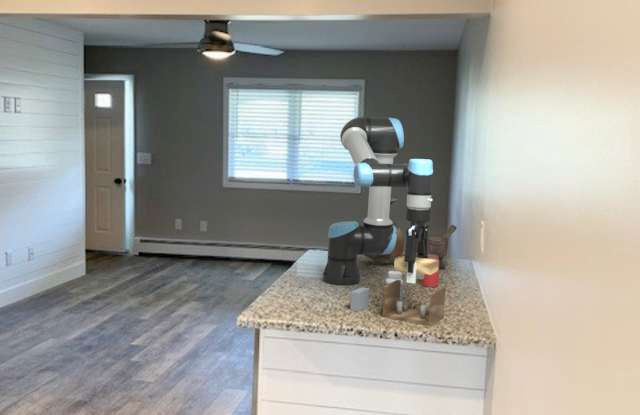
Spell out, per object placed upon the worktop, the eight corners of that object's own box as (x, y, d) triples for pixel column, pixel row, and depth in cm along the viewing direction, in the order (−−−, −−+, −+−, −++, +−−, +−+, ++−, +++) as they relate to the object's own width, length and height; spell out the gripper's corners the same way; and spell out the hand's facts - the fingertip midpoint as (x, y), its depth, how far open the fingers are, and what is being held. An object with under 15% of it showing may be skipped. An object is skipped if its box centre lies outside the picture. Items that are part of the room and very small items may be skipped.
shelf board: (437, 271, 190) (438, 260, 190) (430, 274, 184) (431, 263, 184) (402, 266, 196) (402, 255, 196) (394, 269, 190) (394, 259, 190)
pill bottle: (397, 307, 203) (399, 275, 201) (381, 304, 206) (383, 272, 205) (405, 303, 208) (406, 271, 207) (389, 300, 211) (390, 269, 210)
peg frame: (382, 317, 191) (384, 286, 190) (396, 309, 201) (397, 279, 200) (432, 326, 183) (433, 294, 182) (443, 317, 193) (445, 287, 192)
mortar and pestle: (451, 266, 274) (454, 222, 272) (455, 270, 266) (457, 225, 264) (426, 265, 275) (428, 221, 273) (428, 269, 267) (431, 224, 264)
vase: (367, 257, 288) (370, 195, 284) (407, 261, 281) (410, 197, 278) (353, 266, 266) (356, 199, 263) (396, 271, 260) (400, 202, 257)
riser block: (350, 309, 199) (350, 291, 198) (360, 304, 205) (361, 287, 205) (358, 311, 197) (359, 293, 196) (368, 305, 204) (369, 288, 203)
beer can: (437, 288, 232) (439, 257, 230) (420, 287, 233) (422, 256, 232) (438, 284, 238) (439, 254, 237) (421, 283, 239) (422, 253, 238)
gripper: (418, 211, 178) (415, 288, 180) (440, 206, 195) (437, 276, 197) (395, 209, 181) (392, 284, 184) (418, 205, 199) (415, 273, 201)
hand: (415, 280), depth 190 cm, fingers closed on shelf board, 7 cm apart
